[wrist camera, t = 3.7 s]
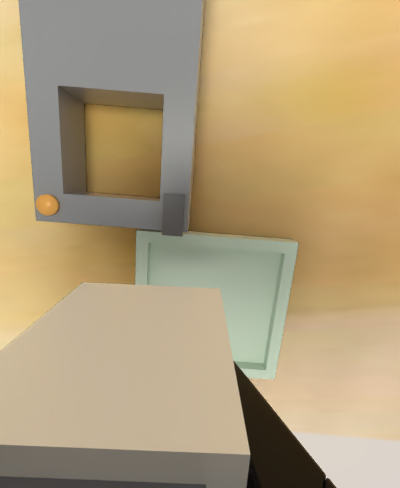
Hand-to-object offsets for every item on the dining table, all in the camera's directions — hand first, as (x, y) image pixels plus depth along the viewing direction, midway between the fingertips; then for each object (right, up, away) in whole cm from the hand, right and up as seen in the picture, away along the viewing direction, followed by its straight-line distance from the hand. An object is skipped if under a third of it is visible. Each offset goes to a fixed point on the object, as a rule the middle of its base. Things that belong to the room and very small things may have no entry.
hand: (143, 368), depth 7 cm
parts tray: (+2, -1, +12) cm, 12 cm away
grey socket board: (-3, +15, +8) cm, 17 cm away
